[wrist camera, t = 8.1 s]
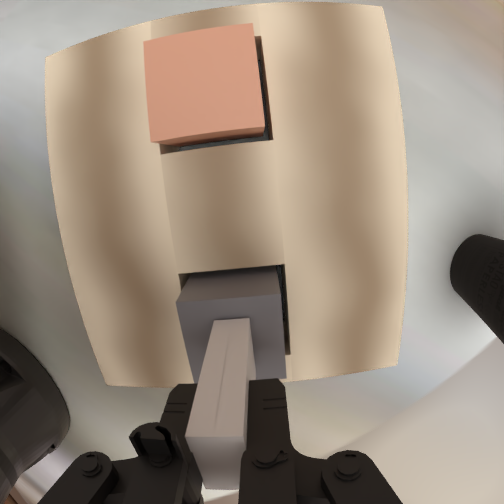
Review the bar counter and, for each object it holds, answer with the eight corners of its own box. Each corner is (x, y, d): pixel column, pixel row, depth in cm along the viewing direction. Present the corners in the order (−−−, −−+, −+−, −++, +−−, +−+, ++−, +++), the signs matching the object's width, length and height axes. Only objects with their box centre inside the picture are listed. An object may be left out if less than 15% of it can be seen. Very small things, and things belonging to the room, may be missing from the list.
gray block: (207, 333, 19) (194, 384, 15) (195, 265, 18) (175, 302, 13) (280, 327, 19) (286, 378, 14) (274, 257, 18) (280, 293, 13)
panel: (126, 352, 22) (106, 385, 18) (78, 70, 16) (45, 57, 12) (377, 333, 21) (397, 365, 17) (360, 31, 16) (382, 6, 12)
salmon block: (179, 146, 16) (150, 142, 12) (172, 70, 15) (143, 41, 10) (262, 136, 16) (265, 126, 11) (253, 58, 15) (252, 22, 10)
